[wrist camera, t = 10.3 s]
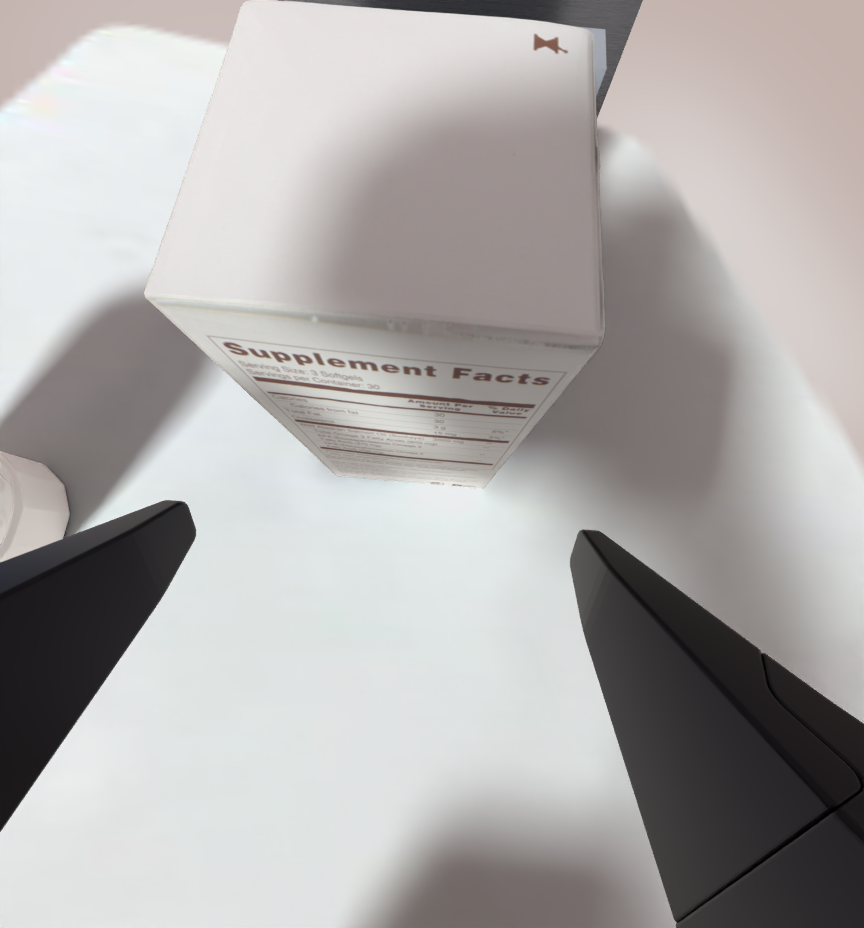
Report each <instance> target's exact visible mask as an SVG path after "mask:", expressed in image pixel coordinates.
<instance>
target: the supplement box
mask: <svg viewBox="0 0 864 928" xmlns="http://www.w3.org/2000/svg"><path fill="white" fill-rule="evenodd" d="M594 45H595V40H594V34H593V33H592V32H590V31H589V30H587V29H583V28H579V27H575V26H569V25H563V24H557V23H551V22H544V21H536V20H526V19H517V18H507V17H492V16H478V15H464V14H450V13H436V12H420V11H406V10H392V9H381V8H368V7H354V6H341V5H329V4H317V3H305V2H296V1H273V0H253V1H252V0H251V1H246V2H245V3H244V4H243V5H242V6H241V9H240V11H239V15H238V18H237V21H236V24H235V27H234V31H233V34H232V37H231V40H230V43H229V46H228V49H227V52H226V55H225V58H224V62H223V65H222V68H221V71H220V73H219V76H218V79H217V82H216V85H215V88H214V91H213V94H212V97H211V100H210V102H209V105H208V108H207V111H206V114H205V117H204V120H203V123H202V126H201V129H200V132H199V135H198V137H197V140H196V143H195V146H194V149H193V152H192V155H191V158H190V161H189V164H188V167H187V170H186V173H185V176H184V179H183V182H182V184H181V187H180V190H179V193H178V196H177V199H176V202H175V205H174V208H173V211H172V213H171V216H170V219H169V222H168V225H167V228H166V231H165V233H164V236H163V239H162V242H161V245H160V248H159V251H158V254H157V257H156V259H155V262H154V265H153V268H152V270H151V273H150V276H149V279H148V281H147V284H146V287H145V290H144V296H145V298H146V299H147V300H148V301H150V302H151V303H152V304H153V305H154V306H155V307H156V308H157V309H158V310H159V311H161V312H162V313H163V314H164V315H165V316H166V317H167V318H168V319H169V320H170V321H171V322H172V323H173V324H174V325H176V326H177V327H178V328H179V329H180V330H181V331H182V332H183V333H184V334H185V335H186V336H187V337H189V338H190V339H191V340H192V341H193V342H194V343H195V344H196V345H197V346H198V347H199V348H200V349H201V350H202V351H204V352H205V353H206V354H207V355H208V356H209V357H210V358H211V359H212V360H213V361H214V362H215V363H216V364H217V365H218V366H219V367H220V368H222V369H223V370H224V371H225V372H226V373H227V374H228V375H229V376H230V377H231V378H232V379H233V380H235V381H236V382H237V383H238V384H239V385H240V386H241V387H242V388H243V389H244V390H245V391H246V392H247V393H248V394H249V395H250V396H251V397H253V398H254V399H255V400H256V401H257V402H258V403H259V404H260V405H261V406H262V407H263V408H265V409H266V410H267V411H268V412H269V413H270V414H271V415H272V416H273V417H274V418H275V419H277V420H278V421H279V422H280V423H281V424H282V425H283V426H284V427H285V428H286V429H287V430H288V431H289V432H290V433H291V434H292V435H294V436H295V437H296V438H297V439H298V440H299V441H300V442H301V443H302V444H303V445H304V446H305V447H306V448H308V450H309V451H310V452H312V453H313V454H314V455H315V456H316V457H317V458H318V459H319V460H320V461H321V462H322V463H323V464H324V465H325V466H327V467H328V468H329V469H330V470H331V471H332V472H333V473H334V474H335V475H337V476H339V477H355V478H368V479H379V480H391V481H402V482H413V483H425V484H435V485H447V486H458V487H469V488H484V487H485V486H486V485H487V484H488V482H489V481H490V480H491V479H492V478H493V476H494V475H495V474H496V472H497V471H498V470H499V469H500V468H501V467H502V465H503V464H504V463H505V462H506V460H507V459H508V458H509V457H510V456H511V454H512V453H513V452H514V451H515V450H516V448H517V447H518V446H519V445H520V444H521V442H522V441H523V440H524V439H525V437H526V436H527V435H528V434H529V433H530V431H531V430H532V429H533V428H534V426H535V425H536V424H537V423H538V422H539V420H540V419H541V418H542V417H543V416H544V414H545V413H546V412H547V411H548V410H549V408H550V407H551V406H552V405H553V404H554V402H555V401H556V400H557V399H558V397H559V396H560V395H561V394H562V393H563V391H564V390H565V389H566V388H567V387H568V385H569V384H570V383H571V382H572V381H573V379H574V378H575V377H576V376H577V375H578V373H579V372H580V371H581V369H582V368H583V367H584V366H585V364H586V363H587V362H588V361H589V360H590V359H591V358H592V356H593V355H594V354H595V353H596V351H597V350H598V349H599V348H600V347H601V345H602V342H603V339H604V335H605V307H604V282H603V269H602V239H601V214H600V191H599V170H600V153H599V147H598V139H597V115H596V92H595V64H594Z"/></svg>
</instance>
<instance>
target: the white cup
mask: <svg viewBox="0 0 864 928" xmlns="http://www.w3.org/2000/svg"><path fill="white" fill-rule="evenodd" d="M69 516H70V512H69V507H68V501H67V496H66V491H65V486H64V484H63V483H62V482H61V481H60V480H59V479H58V478H57V477H56V476H55V475H54V474H53V473H52V472H51V471H50V470H49V469H48V467H47V466H46V465H44V464H42V463H39V462H35V461H32V460H29V459H25V458H22V457H19V456H15V455H12V454H8V453H5V452H2V451H0V562H3V561H5V560H8V559H11V558H13V557H16V556H19V555H21V554H24V553H27V552H29V551H32V550H34V549H37V548H40V547H42V546H45V545H48V544H50V543H53V542H56V541H58V540H61V539H63V537H64V534H65V530H66V527H67V523H68V520H69Z"/></svg>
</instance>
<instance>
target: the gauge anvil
mask: <svg viewBox="0 0 864 928" xmlns="http://www.w3.org/2000/svg"><path fill="white" fill-rule="evenodd" d="M278 1H285V0H278ZM287 1H298V2H309V3H320V4H331V5H342V6H354V7H368V8H381V9H392V10H406V11H420V12H436V13H450V14H464V15H478V16H492V17H507V18H517V19H526V20H536V21H544V22H551V23H557V24H563V25H569V26H575V27H584V28H595V29H605V34H606V65H607V69H606V72H605V74H604V77H603V80H602V83H601V85H600V88H599V91H598V93H597V96H596V115H597V117H598V114H599V112H600V109H601V107H602V104H603V102H604V99H605V96H606V94H607V91H608V89H609V86H610V84H611V81H612V78H613V76H614V73H615V71H616V68H617V65H618V63H619V60H620V58H621V55H622V53H623V50H624V47H625V45H626V42H627V40H628V37H629V34H630V32H631V29H632V27H633V24H634V21H635V19H636V16H637V13H638V11H639V9H640V6H641V3H642V1H643V0H287Z"/></svg>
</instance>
